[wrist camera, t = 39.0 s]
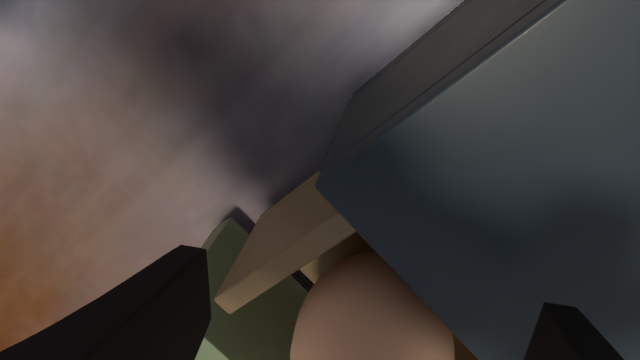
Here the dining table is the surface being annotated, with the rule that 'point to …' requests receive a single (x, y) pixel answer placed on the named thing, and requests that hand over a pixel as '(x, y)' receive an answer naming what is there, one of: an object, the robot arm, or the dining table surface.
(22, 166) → the dining table surface
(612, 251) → the cabinet
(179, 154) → the dining table surface
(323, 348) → the egg
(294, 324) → the drawer
